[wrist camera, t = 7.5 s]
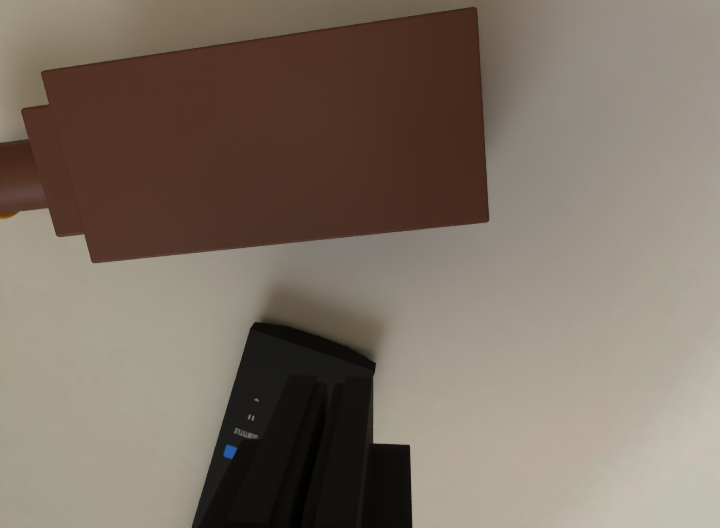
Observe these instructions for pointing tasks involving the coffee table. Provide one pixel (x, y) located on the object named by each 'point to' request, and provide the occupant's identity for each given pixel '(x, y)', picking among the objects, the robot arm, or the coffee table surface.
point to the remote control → (273, 388)
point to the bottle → (260, 141)
